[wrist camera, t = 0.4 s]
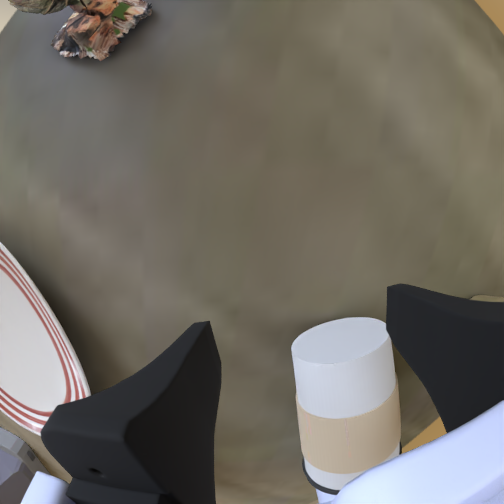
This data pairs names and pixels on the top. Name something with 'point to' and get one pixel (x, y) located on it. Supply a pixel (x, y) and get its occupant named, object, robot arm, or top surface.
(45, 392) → the dinner plate
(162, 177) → the top surface
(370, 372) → the coffee cup
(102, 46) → the plant with pod
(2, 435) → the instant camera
